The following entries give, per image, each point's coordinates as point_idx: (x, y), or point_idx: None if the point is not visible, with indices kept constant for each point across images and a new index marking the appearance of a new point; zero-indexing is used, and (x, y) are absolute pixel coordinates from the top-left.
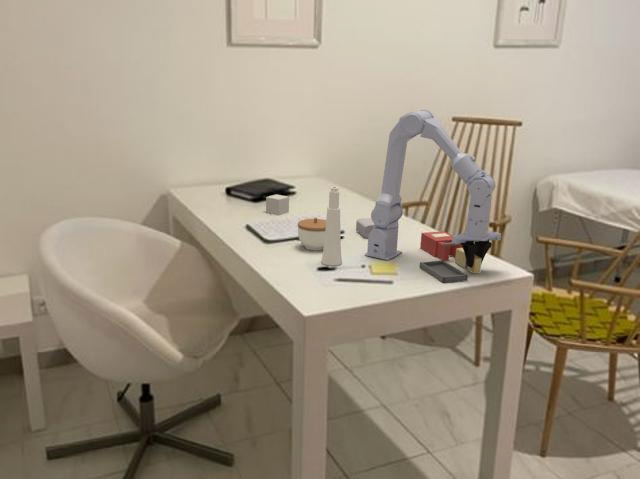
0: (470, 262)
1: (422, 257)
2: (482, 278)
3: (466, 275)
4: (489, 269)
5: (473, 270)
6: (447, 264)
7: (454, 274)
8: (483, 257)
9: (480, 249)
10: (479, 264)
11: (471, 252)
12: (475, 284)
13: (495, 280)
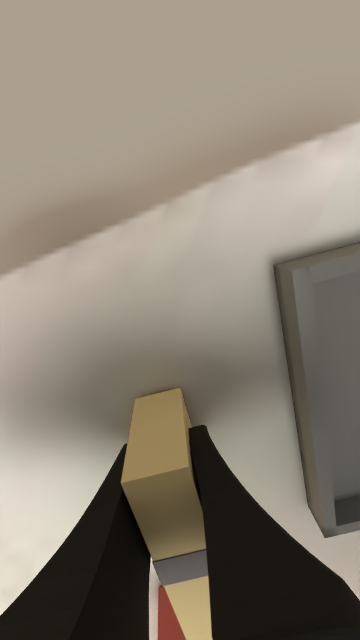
0: (216, 453)
1: (353, 592)
2: (148, 307)
3: (302, 267)
4: (53, 461)
5: (183, 405)
6: (330, 477)
7: (330, 351)
8: (96, 504)
9: (115, 612)
10: (142, 436)
11: (267, 525)
12: (245, 180)
13: (63, 265)
